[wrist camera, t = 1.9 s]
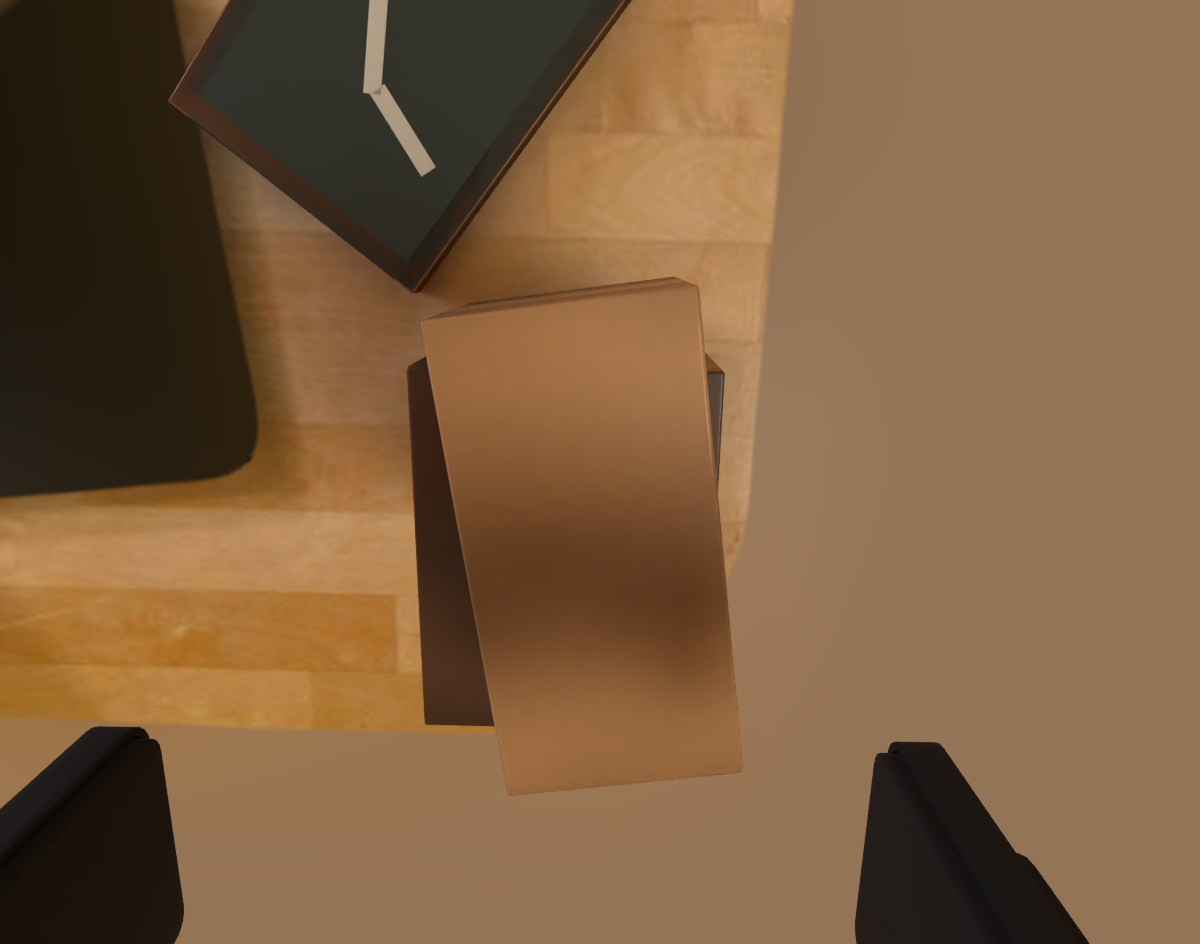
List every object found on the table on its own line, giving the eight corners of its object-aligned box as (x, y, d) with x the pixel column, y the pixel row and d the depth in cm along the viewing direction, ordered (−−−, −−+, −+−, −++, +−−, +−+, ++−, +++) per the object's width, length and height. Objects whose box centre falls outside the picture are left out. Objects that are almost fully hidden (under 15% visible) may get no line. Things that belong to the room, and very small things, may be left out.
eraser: (467, 303, 17) (417, 320, 13) (676, 276, 17) (698, 284, 12) (530, 675, 19) (506, 797, 15) (713, 655, 19) (743, 774, 15)
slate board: (389, -236, 29) (380, -256, 28) (638, -9, 31) (639, -19, 30) (182, 106, 33) (167, 100, 31) (419, 293, 35) (412, 294, 33)
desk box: (508, 309, 35) (405, 366, 17) (667, 312, 35) (725, 371, 17) (511, 504, 37) (424, 725, 20) (660, 507, 37) (704, 732, 20)
